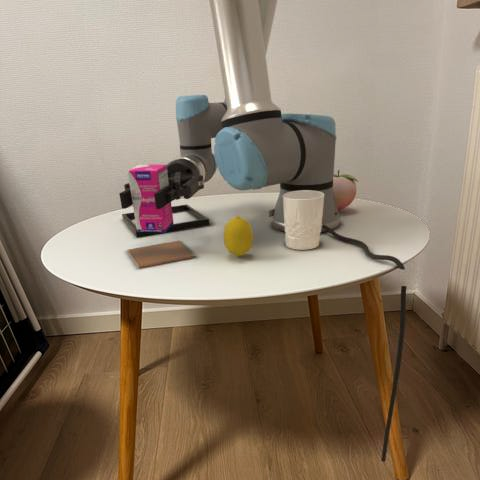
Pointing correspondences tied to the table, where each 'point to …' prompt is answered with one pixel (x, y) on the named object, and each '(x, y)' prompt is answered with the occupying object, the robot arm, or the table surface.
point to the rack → (175, 227)
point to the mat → (160, 254)
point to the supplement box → (149, 198)
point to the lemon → (238, 236)
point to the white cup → (303, 218)
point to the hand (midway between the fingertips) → (139, 201)
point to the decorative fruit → (344, 190)
